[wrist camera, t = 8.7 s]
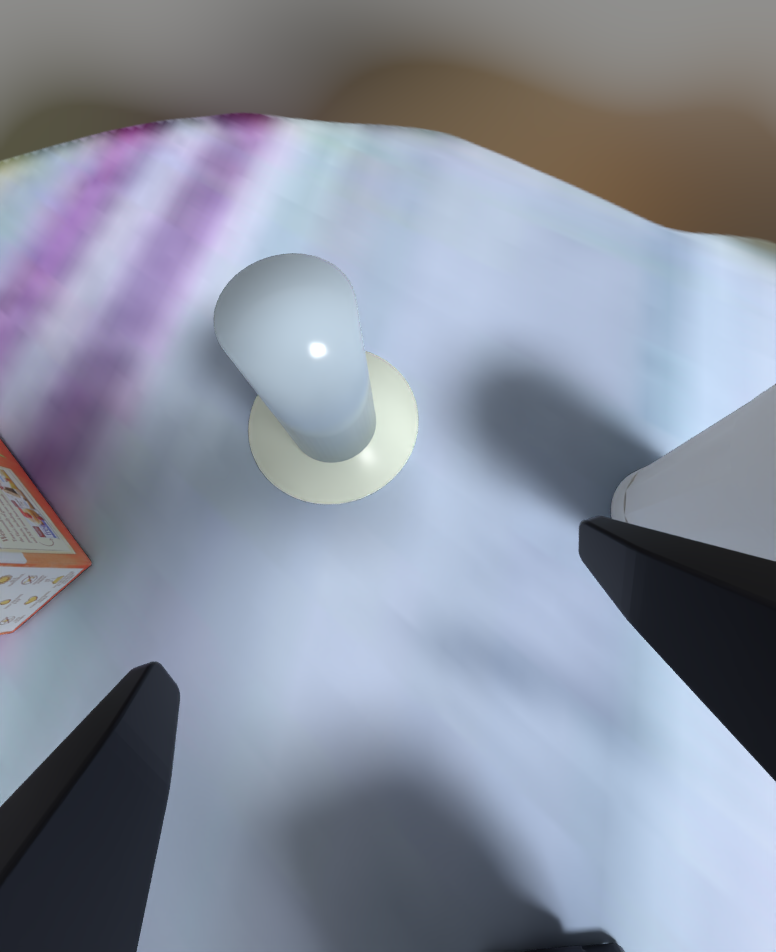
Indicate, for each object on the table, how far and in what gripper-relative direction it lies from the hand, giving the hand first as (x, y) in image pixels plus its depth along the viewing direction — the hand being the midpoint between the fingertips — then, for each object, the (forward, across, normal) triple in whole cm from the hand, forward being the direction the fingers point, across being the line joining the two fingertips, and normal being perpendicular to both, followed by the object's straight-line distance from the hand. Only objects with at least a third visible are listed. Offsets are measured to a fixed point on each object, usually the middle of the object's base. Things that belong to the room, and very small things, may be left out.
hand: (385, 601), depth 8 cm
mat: (+18, 0, +1) cm, 18 cm away
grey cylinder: (+17, 0, +1) cm, 17 cm away
